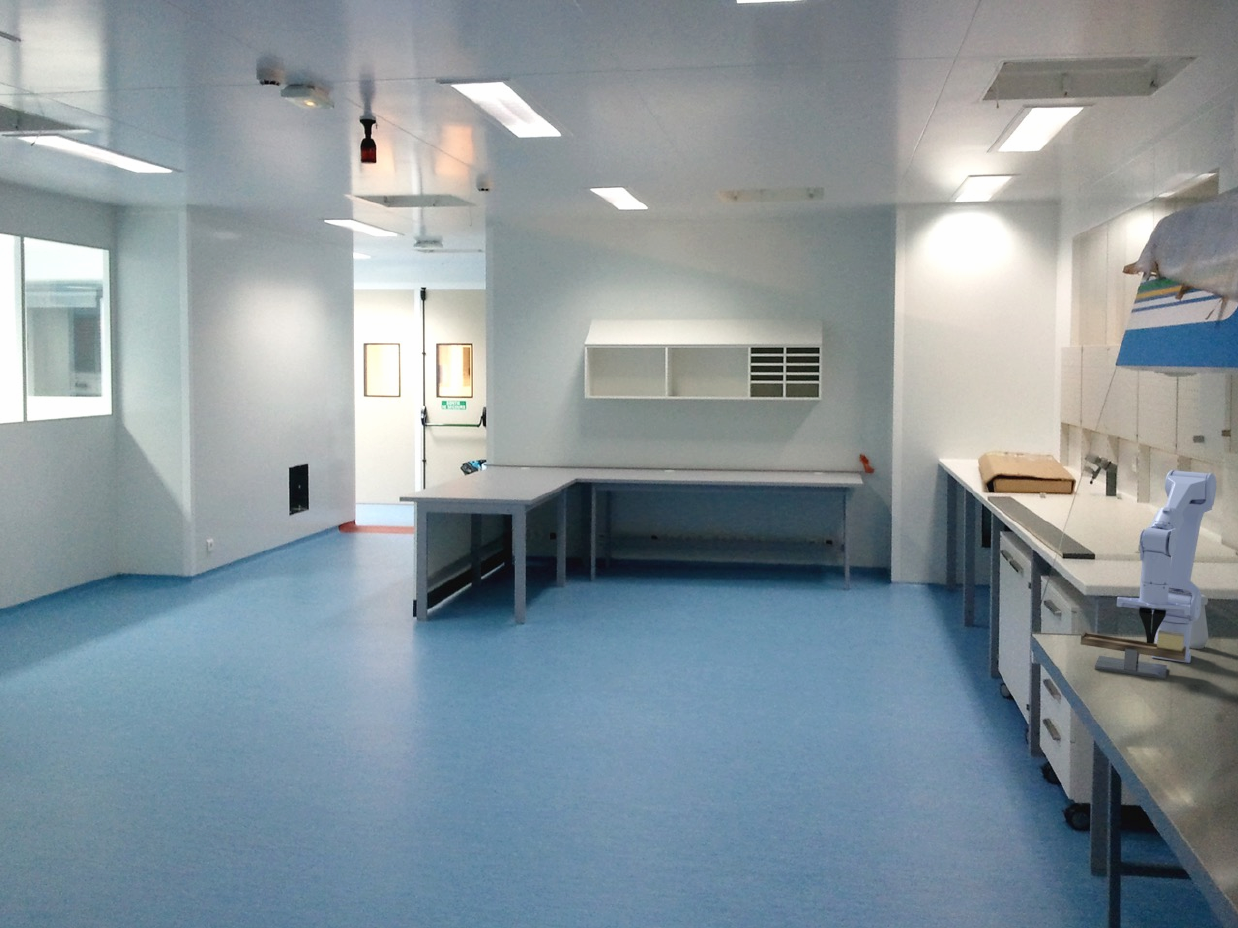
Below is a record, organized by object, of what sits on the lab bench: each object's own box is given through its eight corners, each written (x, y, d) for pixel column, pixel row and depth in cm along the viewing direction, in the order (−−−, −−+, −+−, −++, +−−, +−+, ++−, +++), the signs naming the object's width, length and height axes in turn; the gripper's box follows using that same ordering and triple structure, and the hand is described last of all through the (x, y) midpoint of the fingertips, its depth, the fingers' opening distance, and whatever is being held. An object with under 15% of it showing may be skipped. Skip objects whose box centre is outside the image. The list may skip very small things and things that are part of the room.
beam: (1079, 648, 243) (1081, 636, 243) (1083, 642, 249) (1084, 630, 249) (1184, 665, 233) (1185, 652, 233) (1184, 658, 239) (1186, 645, 239)
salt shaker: (1210, 650, 260) (1215, 597, 259) (1185, 648, 261) (1189, 596, 260) (1202, 644, 266) (1206, 592, 265) (1177, 642, 267) (1181, 591, 266)
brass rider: (1157, 647, 240) (1158, 629, 240) (1182, 651, 238) (1184, 633, 237) (1156, 650, 237) (1158, 632, 237) (1181, 654, 235) (1183, 636, 234)
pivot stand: (1099, 658, 249) (1100, 636, 249) (1166, 668, 242) (1168, 645, 242) (1094, 668, 240) (1096, 645, 240) (1164, 679, 234) (1166, 654, 233)
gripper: (1117, 580, 238) (1113, 641, 239) (1191, 589, 231) (1186, 651, 232) (1120, 576, 244) (1115, 634, 245) (1192, 583, 237) (1187, 644, 238)
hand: (1150, 642), depth 239 cm, fingers closed
